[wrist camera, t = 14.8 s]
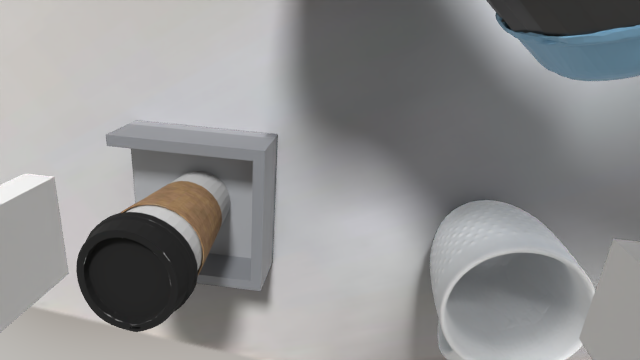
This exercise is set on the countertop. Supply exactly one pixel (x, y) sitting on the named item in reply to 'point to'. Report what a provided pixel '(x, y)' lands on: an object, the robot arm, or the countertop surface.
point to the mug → (505, 286)
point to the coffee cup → (152, 252)
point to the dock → (233, 171)
